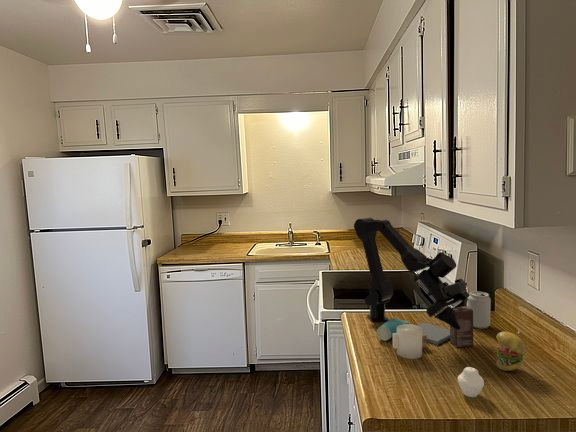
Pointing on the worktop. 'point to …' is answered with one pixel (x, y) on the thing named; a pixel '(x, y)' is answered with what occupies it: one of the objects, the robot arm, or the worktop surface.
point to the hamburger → (509, 351)
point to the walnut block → (424, 340)
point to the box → (462, 327)
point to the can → (480, 309)
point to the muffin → (470, 382)
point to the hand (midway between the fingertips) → (465, 325)
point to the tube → (389, 328)
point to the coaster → (435, 333)
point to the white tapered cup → (408, 341)
